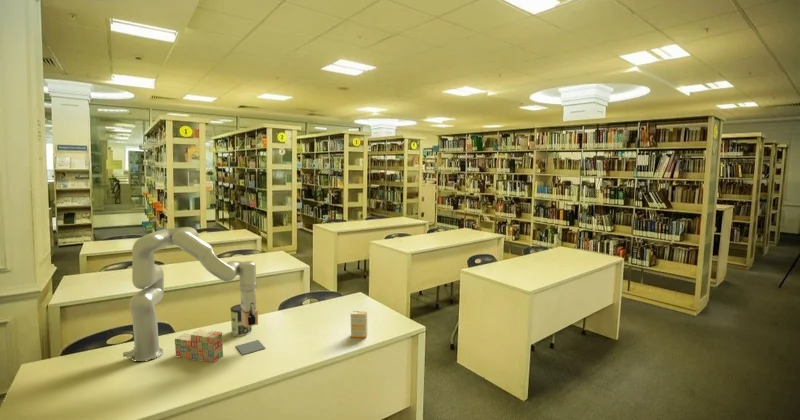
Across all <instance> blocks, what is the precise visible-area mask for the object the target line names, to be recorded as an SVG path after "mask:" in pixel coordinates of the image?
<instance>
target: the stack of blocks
mask: <svg viewBox="0 0 800 420" xmlns="http://www.w3.org/2000/svg"><path fill="white" fill-rule="evenodd" d="M223 342H224V341H223V331H222V332H221V331H217V330H209V329H208V330H207V329H198V330H197V331H195V332H193V333H185V332H184V333H183V334H181V335H179V336H177V337H176V338H174V345H175V346H174V347H175V357H176V356H180V357H179V358H181V357H184V358H183V359H187V358H189V359H188V360H193V359H195V360H194V361H199V360H202V362H205V361H206V362H207V363H212V364H215V363H216V362H217V361H219V360H220V359H222V358H223V357H224V349H223V346H224V345H223V344H224V343H223ZM206 362H205V363H206Z"/></svg>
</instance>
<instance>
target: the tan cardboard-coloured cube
mask: <svg viewBox="0 0 800 420" xmlns="http://www.w3.org/2000/svg"><path fill="white" fill-rule="evenodd" d="M249 311H251V309H250V310H249ZM251 313H252V312H250V314H251ZM258 314H259V313H258V310H257V309H256V310H255V324H253V325H248V317H249V315H248V312H245V311H244V310H241V317H242V324H243V325H244V326H245V328H246V327H250V326H252V327H254V326H258V325H259V315H258Z"/></svg>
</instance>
